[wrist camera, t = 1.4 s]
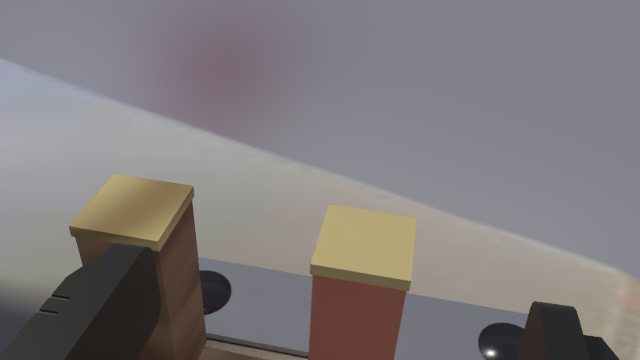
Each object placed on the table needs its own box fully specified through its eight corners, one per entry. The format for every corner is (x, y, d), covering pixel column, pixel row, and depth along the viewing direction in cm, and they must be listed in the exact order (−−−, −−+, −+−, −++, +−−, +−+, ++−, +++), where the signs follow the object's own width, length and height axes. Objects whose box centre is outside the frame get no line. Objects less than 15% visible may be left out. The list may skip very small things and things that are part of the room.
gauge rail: (112, 396, 33) (65, 225, 26) (144, 339, 37) (111, 173, 29) (564, 492, 30) (658, 327, 23) (553, 419, 33) (633, 254, 26)
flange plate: (151, 327, 38) (149, 320, 37) (188, 260, 43) (187, 254, 42) (551, 404, 34) (554, 398, 34) (539, 321, 39) (541, 315, 39)
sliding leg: (302, 421, 31) (310, 263, 24) (318, 358, 34) (328, 204, 28) (381, 438, 31) (411, 281, 24) (388, 372, 34) (417, 217, 27)
